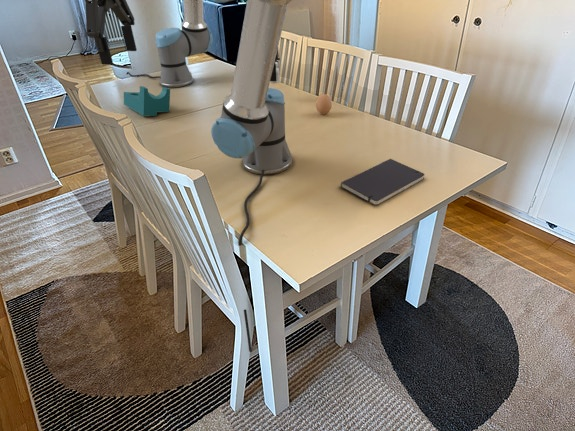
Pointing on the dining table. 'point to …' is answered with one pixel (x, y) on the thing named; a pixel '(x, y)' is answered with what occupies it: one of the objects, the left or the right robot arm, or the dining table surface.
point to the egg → (323, 104)
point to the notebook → (382, 181)
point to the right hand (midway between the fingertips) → (120, 57)
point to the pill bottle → (276, 75)
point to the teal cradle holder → (148, 101)
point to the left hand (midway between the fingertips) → (274, 78)
